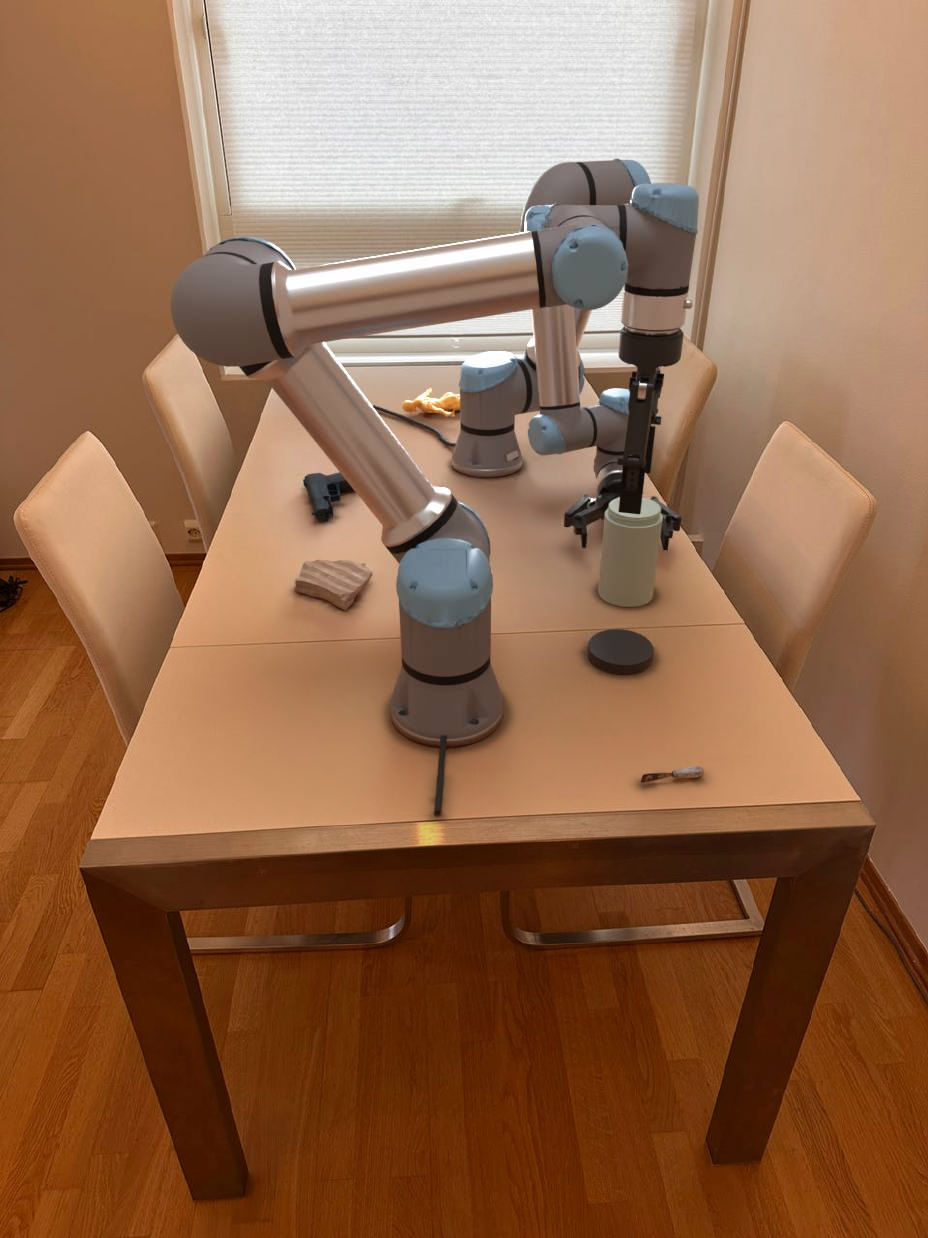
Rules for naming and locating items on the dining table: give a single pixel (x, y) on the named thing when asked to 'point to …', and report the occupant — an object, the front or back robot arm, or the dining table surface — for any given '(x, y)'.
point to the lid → (620, 651)
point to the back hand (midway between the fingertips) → (625, 542)
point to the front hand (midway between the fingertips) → (635, 491)
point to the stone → (333, 580)
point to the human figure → (434, 403)
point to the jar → (629, 554)
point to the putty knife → (674, 774)
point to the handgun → (325, 492)
